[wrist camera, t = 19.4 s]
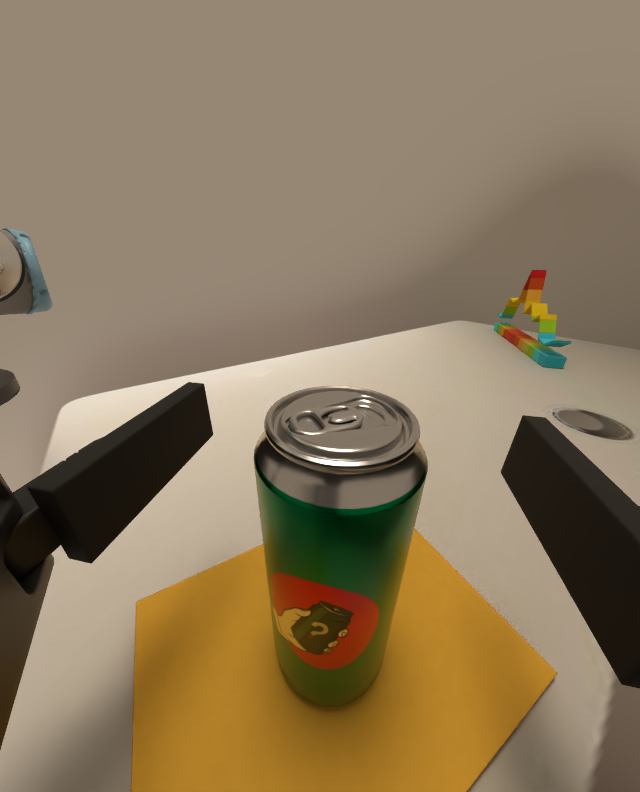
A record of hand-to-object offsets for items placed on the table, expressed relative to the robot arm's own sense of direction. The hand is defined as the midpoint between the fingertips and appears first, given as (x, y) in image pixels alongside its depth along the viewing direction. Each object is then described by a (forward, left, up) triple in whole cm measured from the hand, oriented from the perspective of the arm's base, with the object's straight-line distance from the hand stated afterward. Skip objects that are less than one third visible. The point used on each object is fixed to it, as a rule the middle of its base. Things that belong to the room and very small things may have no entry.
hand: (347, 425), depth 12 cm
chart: (+63, +23, -10) cm, 67 cm away
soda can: (-2, -3, -10) cm, 10 cm away
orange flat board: (-2, -3, -10) cm, 11 cm away
